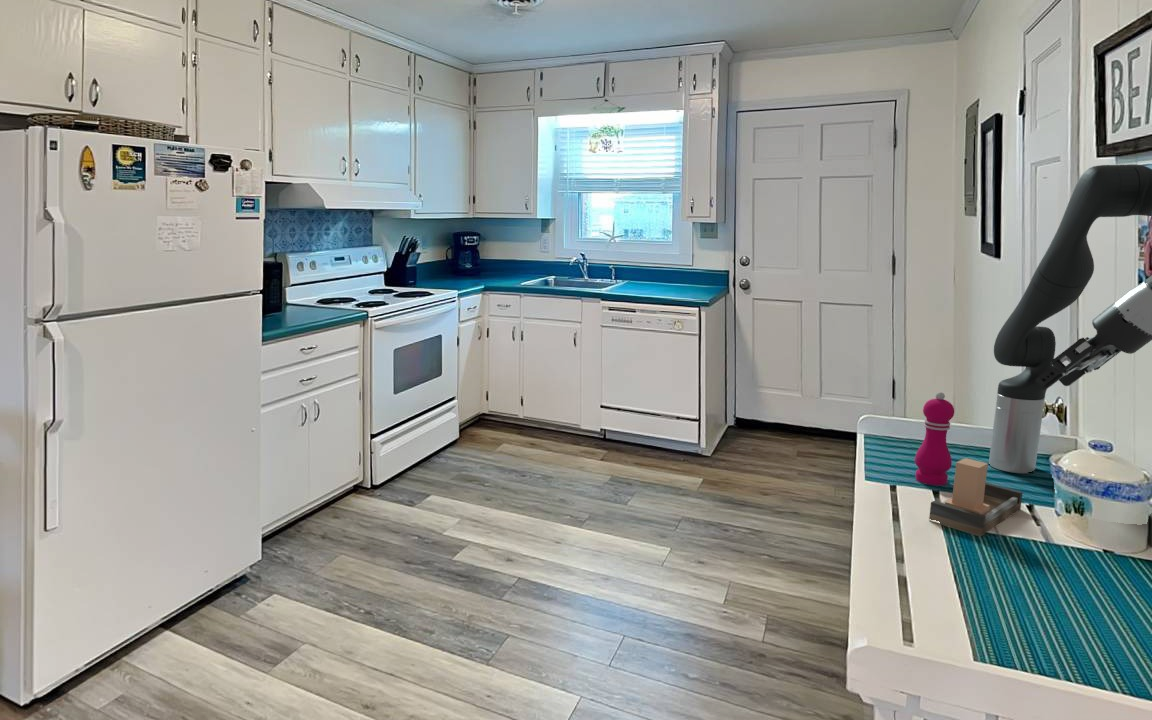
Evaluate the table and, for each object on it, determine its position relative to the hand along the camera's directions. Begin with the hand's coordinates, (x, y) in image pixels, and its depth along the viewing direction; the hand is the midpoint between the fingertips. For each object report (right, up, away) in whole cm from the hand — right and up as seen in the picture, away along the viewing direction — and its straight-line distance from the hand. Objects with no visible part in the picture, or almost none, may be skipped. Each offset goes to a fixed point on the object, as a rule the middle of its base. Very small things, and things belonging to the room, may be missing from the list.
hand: (1050, 383), depth 118 cm
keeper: (-7, -25, +13) cm, 29 cm away
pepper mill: (-2, -23, +35) cm, 42 cm away
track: (-3, -26, +16) cm, 31 cm away
